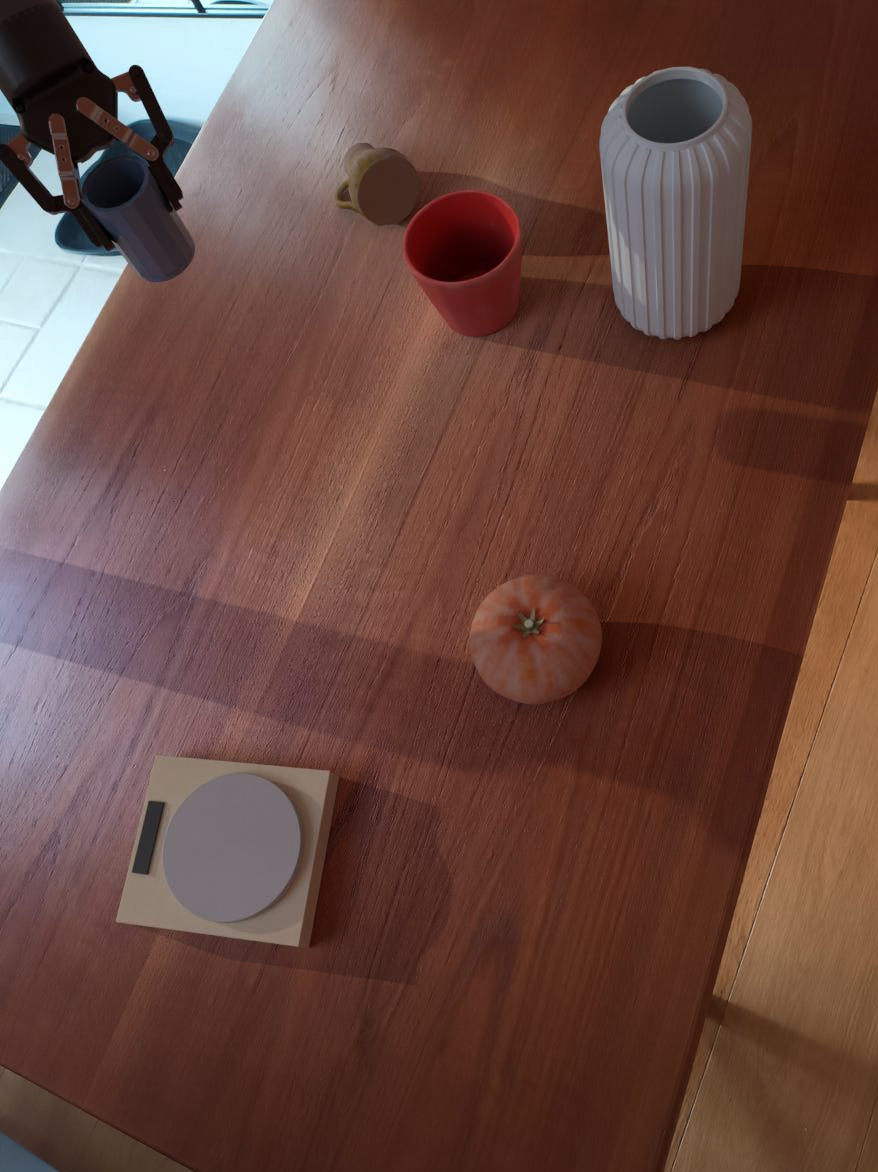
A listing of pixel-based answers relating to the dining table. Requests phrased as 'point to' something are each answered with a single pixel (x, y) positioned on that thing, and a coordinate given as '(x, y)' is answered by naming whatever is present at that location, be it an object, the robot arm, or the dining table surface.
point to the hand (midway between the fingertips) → (144, 228)
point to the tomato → (535, 639)
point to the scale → (230, 850)
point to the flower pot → (467, 259)
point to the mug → (379, 184)
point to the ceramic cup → (138, 218)
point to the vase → (676, 199)
